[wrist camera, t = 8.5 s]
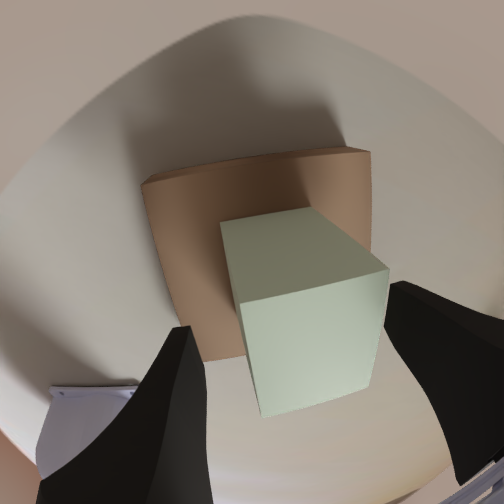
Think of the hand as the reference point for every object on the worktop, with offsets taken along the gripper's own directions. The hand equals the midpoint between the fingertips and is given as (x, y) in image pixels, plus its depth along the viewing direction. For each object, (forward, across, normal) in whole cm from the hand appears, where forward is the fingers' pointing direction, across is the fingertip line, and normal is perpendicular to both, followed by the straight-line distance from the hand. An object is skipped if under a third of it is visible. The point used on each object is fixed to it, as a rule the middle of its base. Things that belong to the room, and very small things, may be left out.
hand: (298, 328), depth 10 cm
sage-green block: (+4, 0, 0) cm, 4 cm away
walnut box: (+7, 0, 0) cm, 7 cm away
